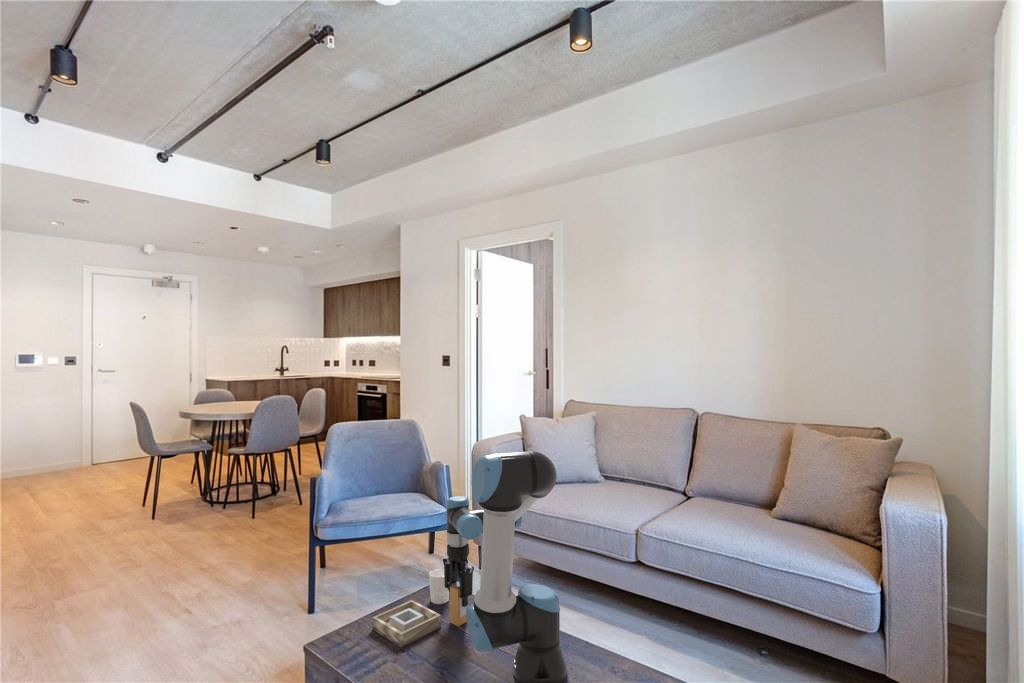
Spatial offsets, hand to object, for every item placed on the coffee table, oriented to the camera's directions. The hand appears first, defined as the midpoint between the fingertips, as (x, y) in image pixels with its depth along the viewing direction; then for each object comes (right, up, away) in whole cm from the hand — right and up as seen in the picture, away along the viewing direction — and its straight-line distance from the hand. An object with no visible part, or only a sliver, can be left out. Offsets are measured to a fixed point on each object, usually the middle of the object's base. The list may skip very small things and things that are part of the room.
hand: (458, 612), depth 173 cm
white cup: (-9, -4, +16) cm, 18 cm away
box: (-17, -3, -4) cm, 17 cm away
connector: (0, -3, 0) cm, 3 cm away
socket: (-17, -3, -4) cm, 17 cm away
